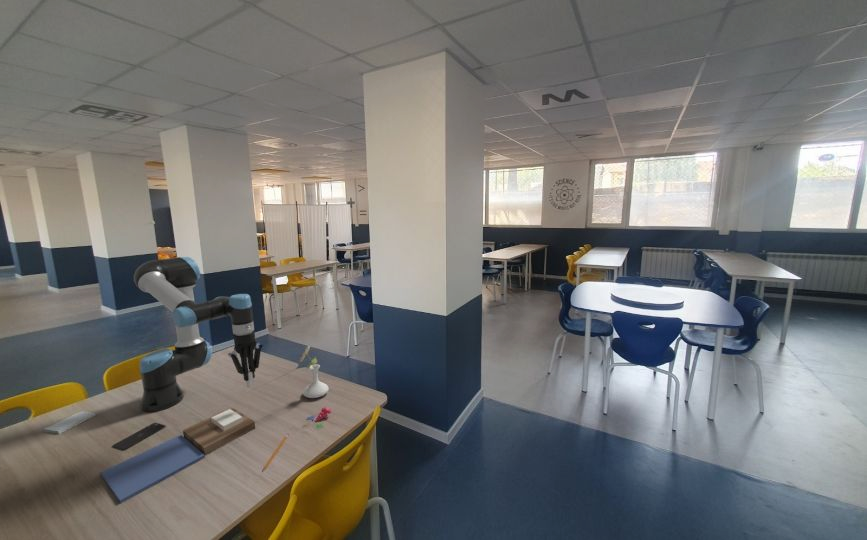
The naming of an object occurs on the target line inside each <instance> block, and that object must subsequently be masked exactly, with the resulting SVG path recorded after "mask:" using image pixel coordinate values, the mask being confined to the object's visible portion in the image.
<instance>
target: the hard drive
mask: <svg viewBox="0 0 867 540" xmlns="http://www.w3.org/2000/svg"><path fill="white" fill-rule="evenodd" d="M96 415H97V414H96V413H95V412H89V411H83V410H82V411H78V412H77V413H75V414H72V415H70V416H68V417H66V418H64V419H62V420H59V421H57V422H55V423H54V424H51V425H49V426H47V427H45V428H43V429H42V432H44V433H51V434H58V435H60V434H61V433H63V432H65V431H68V430H69V429H71V428H74V427H75V426H77V425H79V424H81V423H83V422H85V421H87V420H88V419H91V418H93V417H95V416H96ZM67 429H68V430H67Z"/></svg>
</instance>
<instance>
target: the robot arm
mask: <svg viewBox="0 0 867 540" xmlns="http://www.w3.org/2000/svg"><path fill="white" fill-rule="evenodd" d="M200 276H201V270H200V267H199V266H198V263H197V262H196V260H194V259H193V258H192V257H189V256H181V257H180V256H178V257H171V258H162V259H153V260H149V261H146V262H144V263H141V265H140V266H139V265H138V267H137V269H136V270H135V272H134V274H133V282H134V284H135V286H136V287H137V288H138V289H139V290H140V291H142V292H144V293H149V294H150V295H151V296H152V297H153V298H154V299H156V300H157V301H158V302H159V303H161V304H162V305H163V306H164V307H166V309H168V310H169V311H170V312H171V319H172V321H173V323H174V326H175V331H176V337H177V338H176V339H177V341H176V342H175V344H174V345H173V346H174V349H173V350H172V349H170V348H162V349H158V350H155V351H152V352H150V353H148V354H146V355H144V356H143V357H142V358H141V359H140V360H139V373H140V376H141V382H142V388H143V393H142V396H141V401H140V408H141V409H140V410H141V411H143V412H146V413H147V412H148V413H149V412H151V413H152V412H159V411H163V410H166V409H169V408H171V407H173V406H175V405H177V404H179V403H180V402H182V401H183V399H184V397H185V396H184V391H183V390H182V388H181V386H180V385H179V384H178V382H177V376H179V375H182V374H184V373H189V372H190V371H193V370H196V369H199V368H202V367H203V366H205V365H207V364H209V362H210V361H211V359H212V354H213V353H212V348H211V345H210V343H209V342H208V341H207V340H205V339H204V338H203V337H201V336H200V329H199V324H201V323H205V322H208V321H212V320H216V319H221V318H223V317H229V318H230V321H231V326H232V327H231V328H232V334H233V342H234V343H233V344H234V347H233V351H232V352H229V353H228V354H227V355H228V357H229V358H231V360H232V362H233V364H234V367H235V369H236V371H237V373H238V374H241V375H243V380H244V381H245V382H246V387H247V388H249V389H252V388H254V387H255V385H254V378H255V377H256V375H255V372H257V371H256V369H259V368H260V367H259V366H260V359H261V358H260V357H261V350H262V348H263V346H264V345H263V344H261V343H258V342H257V341H256V334H255V325H254V315H253V313H254V312H253V302H252V299H251V295H249V294H248V293H237V294H233V295H230V296H218V297H214V299H212V300H208V301H204V302H203V301H202V302H199V303H197V302H195V296H194V288H195V287H196V286H197V281H198V280H200V278H201V277H200ZM238 355H239V357H240V360H239V358H238ZM240 361H241V362H240Z"/></svg>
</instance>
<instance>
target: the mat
mask: <svg viewBox="0 0 867 540" xmlns="http://www.w3.org/2000/svg"><path fill="white" fill-rule="evenodd" d="M205 458H206V455H204V454H203V453H202V452H201V451H199V450H198V449H197V448H196V447H195V446H194V445H192V444H191V443H190V442H189V441H188V440H187V439H185V438H184V435H182V434H179V435H177V436H175V437H173V438H171V439H168V440H166V441H164V442H162V443H160V444H158V445H156V446H153V447H151V448H149V449H148V450H145V451H143V452H140V453H139V454H136V455H135V456H132V457H130V458H128V459H125V460H124V461H122V462H119V463H118V464H117V463H116V465H112V466H111V467H108V468H107V469H105V470H102V471H101V472H100V474H101V476H102V478H103V479H104V481H105V483H107V485H108V487H109V488H110V489H111V491H112V493H113V494H114V495H115V496H116V497H115V498H116V499H117V500H118V501H119V503H120V504H122V503H124V502H126V501H127V500H129V499H130V500H131V499H132V498H134V497H135V496H137V495H139V494H140V493H143V492H144V491H146V490H148V489H150V488H151V487H154V486H155V485H157V484H159V483H161V482H162V481H165V480H166V479H168V478H170V477H171V476H173V475H176V474H178V473H179V472H181V471H183V470H184V469H187V468H189V467H190V466H192V465H193V464H195V463H198V462H199V461H202V460H204V459H205Z"/></svg>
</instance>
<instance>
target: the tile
mask: <svg viewBox="0 0 867 540" xmlns="http://www.w3.org/2000/svg"><path fill="white" fill-rule="evenodd" d="M228 409H229V410H227V409H226V410H227V411H225V410H223V411H224V412H223V411H221V412H222V413H221V412H219V413H220V414H219V413H217V414H218V415H217V414H215V415H216V416H214V415H213V416H214V417H212V416H210V417H211V419H212V422H213V423H214V424H215V425H217V426H218V427H219V428H221V429H222V430H224V431H225V430H227V429H229V428H231V427H233V426H235V425H237V424H239V423H241V422H243V417H242V416H240V415H239V414H237V413H236V412H234V411H232V410H231V409H230V408H228Z"/></svg>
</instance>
